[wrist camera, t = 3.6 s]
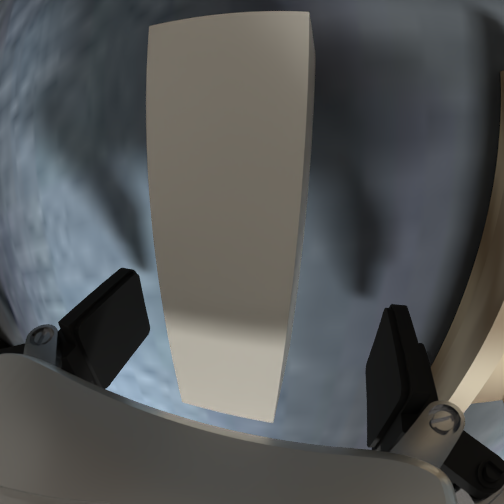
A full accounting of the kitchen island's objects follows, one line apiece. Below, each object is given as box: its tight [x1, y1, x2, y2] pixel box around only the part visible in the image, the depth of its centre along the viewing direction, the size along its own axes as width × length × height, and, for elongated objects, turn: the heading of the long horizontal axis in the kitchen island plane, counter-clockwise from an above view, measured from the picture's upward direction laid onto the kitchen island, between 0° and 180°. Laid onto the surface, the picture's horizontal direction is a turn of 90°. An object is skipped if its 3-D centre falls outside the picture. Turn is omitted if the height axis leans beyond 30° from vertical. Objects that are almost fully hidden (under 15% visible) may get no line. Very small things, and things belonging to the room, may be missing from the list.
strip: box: [146, 11, 316, 423], centre depth 9 cm, size 12×4×4 cm, turn 178°
